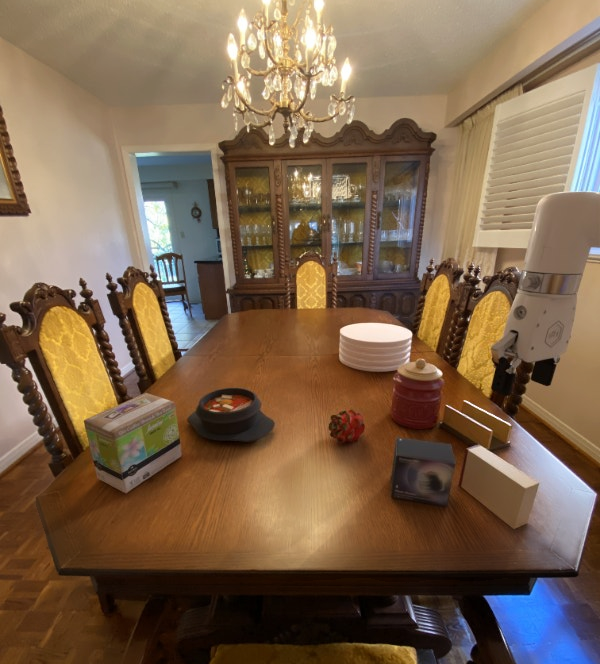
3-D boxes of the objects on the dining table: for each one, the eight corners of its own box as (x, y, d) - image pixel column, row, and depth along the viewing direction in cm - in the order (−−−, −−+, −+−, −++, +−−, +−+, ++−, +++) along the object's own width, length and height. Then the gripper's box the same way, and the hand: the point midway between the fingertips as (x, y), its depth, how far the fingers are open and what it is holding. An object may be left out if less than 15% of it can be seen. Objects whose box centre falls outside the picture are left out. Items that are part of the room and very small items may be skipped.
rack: (464, 418, 96) (467, 399, 94) (510, 445, 84) (515, 424, 82) (439, 425, 93) (442, 405, 91) (482, 454, 81) (487, 432, 79)
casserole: (288, 422, 95) (287, 395, 92) (246, 459, 80) (244, 428, 77) (219, 402, 107) (216, 377, 104) (171, 431, 92) (166, 403, 89)
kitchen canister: (425, 436, 88) (434, 372, 82) (381, 418, 97) (386, 359, 90) (446, 417, 97) (456, 358, 90) (403, 402, 105) (410, 347, 99)
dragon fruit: (331, 455, 84) (352, 438, 93) (359, 445, 79) (379, 428, 89) (315, 423, 85) (338, 410, 94) (342, 411, 80) (364, 398, 89)
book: (471, 480, 73) (479, 444, 69) (527, 523, 62) (540, 482, 59) (458, 485, 71) (465, 448, 68) (513, 529, 61) (525, 488, 57)
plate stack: (402, 348, 153) (405, 323, 149) (415, 372, 127) (419, 343, 123) (339, 347, 156) (339, 322, 152) (339, 370, 130) (340, 341, 126)
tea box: (127, 495, 69) (111, 432, 64) (97, 479, 74) (80, 419, 69) (184, 455, 82) (175, 399, 76) (155, 444, 86) (144, 390, 81)
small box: (390, 499, 68) (395, 455, 64) (390, 478, 74) (394, 436, 70) (448, 509, 65) (456, 463, 61) (443, 485, 71) (451, 442, 67)
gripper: (533, 291, 45) (504, 407, 52) (610, 284, 52) (576, 388, 58) (485, 284, 52) (464, 387, 58) (559, 278, 58) (533, 372, 65)
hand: (520, 387), depth 58 cm, fingers open, 9 cm apart
